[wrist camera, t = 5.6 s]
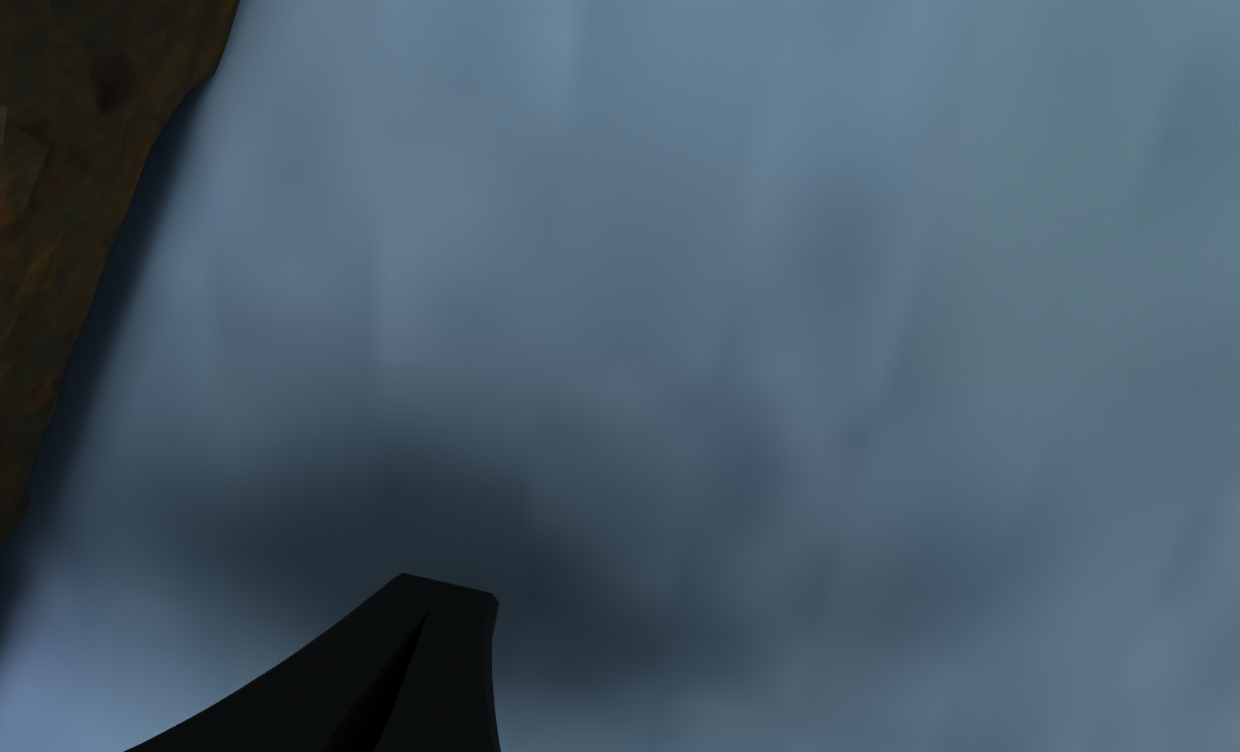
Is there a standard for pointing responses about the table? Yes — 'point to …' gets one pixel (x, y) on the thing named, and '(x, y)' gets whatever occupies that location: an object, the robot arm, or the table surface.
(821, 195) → the table surface
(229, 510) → the table surface
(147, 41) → the dark brown rod
